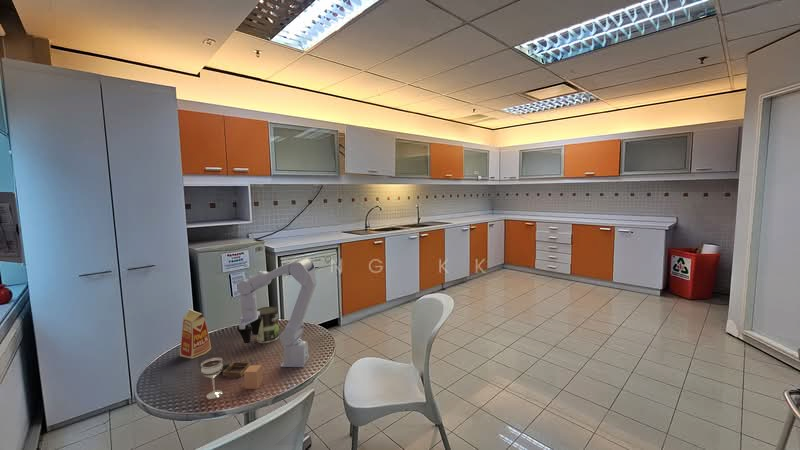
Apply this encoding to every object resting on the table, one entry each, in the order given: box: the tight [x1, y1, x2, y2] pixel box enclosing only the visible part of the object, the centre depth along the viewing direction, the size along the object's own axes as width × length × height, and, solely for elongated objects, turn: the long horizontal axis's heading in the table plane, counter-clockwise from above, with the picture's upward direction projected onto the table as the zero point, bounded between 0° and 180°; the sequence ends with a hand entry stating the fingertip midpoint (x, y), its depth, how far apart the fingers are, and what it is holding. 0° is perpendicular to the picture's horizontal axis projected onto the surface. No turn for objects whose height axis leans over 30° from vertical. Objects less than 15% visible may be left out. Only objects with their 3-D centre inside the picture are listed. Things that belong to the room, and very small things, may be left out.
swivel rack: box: [220, 361, 252, 377], centre depth 133 cm, size 7×15×3 cm, turn 85°
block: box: [243, 364, 263, 390], centre depth 124 cm, size 4×4×6 cm
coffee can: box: [255, 306, 280, 344], centre depth 161 cm, size 10×10×14 cm
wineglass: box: [200, 357, 224, 400], centre depth 118 cm, size 7×7×12 cm
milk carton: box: [179, 308, 212, 359], centre depth 148 cm, size 9×9×20 cm
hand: (251, 338), depth 141 cm, fingers open, 7 cm apart
